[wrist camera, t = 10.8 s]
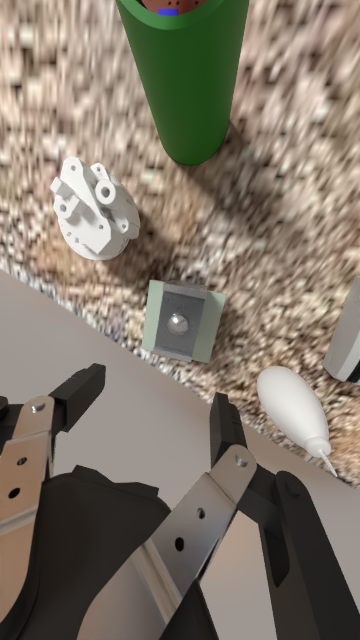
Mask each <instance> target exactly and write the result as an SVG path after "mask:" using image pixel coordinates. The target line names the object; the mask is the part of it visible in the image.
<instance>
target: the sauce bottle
mask: <svg viewBox="0 0 360 640" xmlns="http://www.w3.org/2000/svg"><path fill="white" fill-rule="evenodd" d="M257 391H258V396H259V399H260V401H261V404H262V406H263V408H264V410H265V411H266V413H267V414H268V416H269V417H270V419H271V420H272V421H273V423H274V424H275V425H276V426H277V427H278V428H279V429H280V430H281V431H282V432H283V433H284V434H285V435H286V436H287V437H288V438H289V439H290V440H292V441H293V442H294V443H296V444H297V445H299V446H301V447H302V448H304V449H306V451H307V452H308V453H309V454H310V455H311V456H313V457H316V458H323V460H324V461H325V463H326V464H327V466H328V467H329V469H330V470H331V471H332V473H333V474H334V475H335V476H336V477H337V474H336V472H335V470H334V468H333V466H332V465H331V463H330V461H329V460H328V458H327V456H328V455H329V454H330V453H331V445H330V443H329V442H328V440H329V429H328V423H327V419H326V416H325V413H324V410H323V408H322V405H321V403H320V401H319V399H318V397H317V396H316V394H315V393H314V391H313V390H312V388H311V387H310V386H309V384H308V383H307V382H306V381H305V380H304V379H303V378H302V377H301V376H299V375H298V374H297V373H295V372H294V371H292V370H290V369H288V368H285V367H282V366H271V367H268V368H266V369H264V370H263V371H262V372H261V373H260V375H259V377H258V380H257Z"/></svg>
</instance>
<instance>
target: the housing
mask: <svg viewBox="0 0 360 640" xmlns="http://www.w3.org/2000/svg"><path fill="white" fill-rule="evenodd" d="M162 290H163V295H162V302H161V308H160V314H159V321H158V327H157V333H156V339H155V346H154V348H153V352H152V354H156V355H160V356H164V357H168V358H173V359H177V360H181V361H185V362H190V363H191V359H192V354H193V350H194V346H195V341H196V337H197V333H198V329H199V324H200V320H201V316H202V312H203V307H204V303H205V299H206V296H207V287H206V286H205V285H200V284H195V283H190V282H185V281H180V280H175V279H174V280H171V281H168V282H165V283H163V289H162Z"/></svg>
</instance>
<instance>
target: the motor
mask: <svg viewBox="0 0 360 640" xmlns="http://www.w3.org/2000/svg"><path fill="white" fill-rule="evenodd" d="M116 3H117V6H118V9H119V13H120V16H121V19H122V22H123V25H124V28H125V31H126V34H127V37H128V41H129V44H130V47H131V50H132V53H133V56H134V59H135V62H136V65H137V69H138V72H139V75H140V78H141V81H142V84H143V87H144V90H145V93H146V97H147V100H148V103H149V106H150V109H151V112H152V115H153V118H154V121H155V125H156V128H157V131H158V134H159V137H160V140H161V143H162V145H163V147H164V149H165V151H166V152H167V154H168V155H169V156H170V157H171V158H172V159H174V160H175V161H177V162H179V163H181V164H185V165H195V164H199V163H202V162H204V161H206V160H207V159H209V158H210V157H211V156H212V155H213V154H214V153H215V152H216V151H217V150H218V149H219V147H220V146H221V144H222V142H223V140H224V138H225V135H226V132H227V128H228V123H229V117H230V111H231V105H232V99H233V93H234V88H235V82H236V76H237V70H238V64H239V58H240V52H241V47H242V41H243V35H244V29H245V23H246V17H247V12H248V6H249V0H116Z"/></svg>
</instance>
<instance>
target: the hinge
mask: <svg viewBox="0 0 360 640" xmlns="http://www.w3.org/2000/svg"><path fill="white" fill-rule="evenodd" d="M322 366H323V367H324V368H325V369H326V370H327V371H328V372H329V374H330V375H331V376H332V377H333V378H335V379H337V380H340V381H342V382H344V381H349V382H351V383H352V384H353V385H358V386H360V276H355V278H354V280H353V283H352V286H351V288H350V291H349V294H348V296H347V299H346V302H345V304H344V307H343V310H342V312H341V315H340V318H339V320H338V323H337V326H336V328H335V331H334V334H333V337H332V339H331V342H330V345H329V347H328V350H327V353H326V355H325V358H324V361H323V363H322Z"/></svg>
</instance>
